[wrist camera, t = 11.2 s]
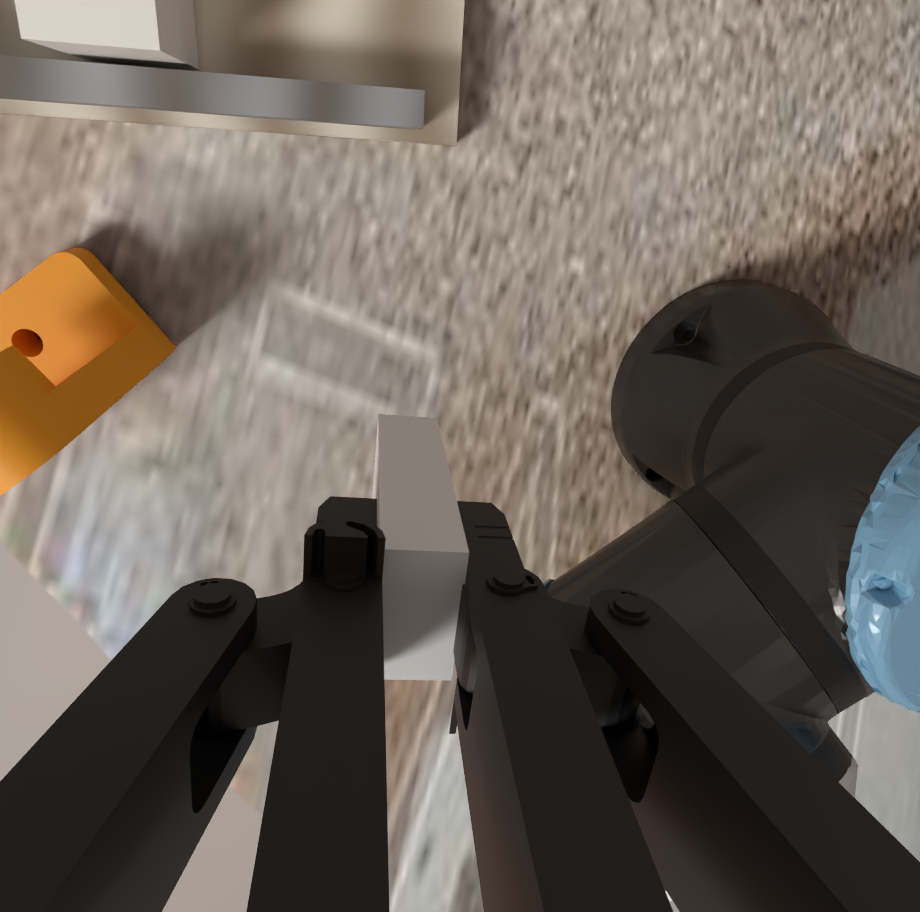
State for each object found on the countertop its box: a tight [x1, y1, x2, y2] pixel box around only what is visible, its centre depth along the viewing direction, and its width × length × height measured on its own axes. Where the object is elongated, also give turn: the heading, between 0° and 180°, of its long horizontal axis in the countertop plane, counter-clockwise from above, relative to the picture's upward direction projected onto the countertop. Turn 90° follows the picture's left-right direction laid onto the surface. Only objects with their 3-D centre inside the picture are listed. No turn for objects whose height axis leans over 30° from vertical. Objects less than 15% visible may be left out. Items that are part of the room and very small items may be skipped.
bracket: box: [0, 247, 176, 495], centre depth 34 cm, size 11×7×12 cm, turn 123°
